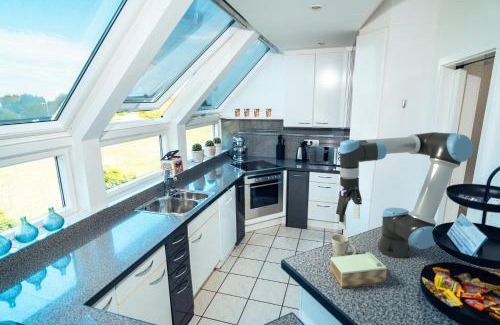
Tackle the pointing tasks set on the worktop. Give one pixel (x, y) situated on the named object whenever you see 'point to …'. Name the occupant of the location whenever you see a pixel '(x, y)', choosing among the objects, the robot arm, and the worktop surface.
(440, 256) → the worktop surface
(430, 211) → the robot arm
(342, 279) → the lid box
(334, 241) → the mug
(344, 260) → the lid
